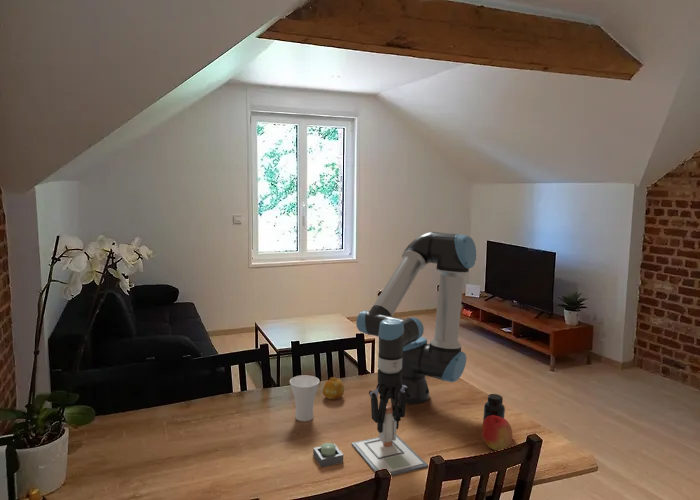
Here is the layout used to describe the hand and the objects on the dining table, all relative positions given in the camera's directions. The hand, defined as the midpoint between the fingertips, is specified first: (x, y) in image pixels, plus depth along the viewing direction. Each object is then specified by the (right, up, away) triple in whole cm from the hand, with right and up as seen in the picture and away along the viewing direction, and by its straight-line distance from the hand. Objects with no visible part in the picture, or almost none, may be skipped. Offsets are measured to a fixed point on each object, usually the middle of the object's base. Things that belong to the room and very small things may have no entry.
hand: (387, 439), depth 165 cm
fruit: (-18, +3, +35) cm, 40 cm away
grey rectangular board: (0, -3, -5) cm, 6 cm away
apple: (+35, -3, +1) cm, 35 cm away
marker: (0, -2, 0) cm, 1 cm away
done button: (-19, -3, -7) cm, 20 cm away
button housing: (-19, -3, -7) cm, 20 cm away
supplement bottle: (+37, -2, +13) cm, 39 cm away
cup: (-28, +1, +19) cm, 34 cm away
